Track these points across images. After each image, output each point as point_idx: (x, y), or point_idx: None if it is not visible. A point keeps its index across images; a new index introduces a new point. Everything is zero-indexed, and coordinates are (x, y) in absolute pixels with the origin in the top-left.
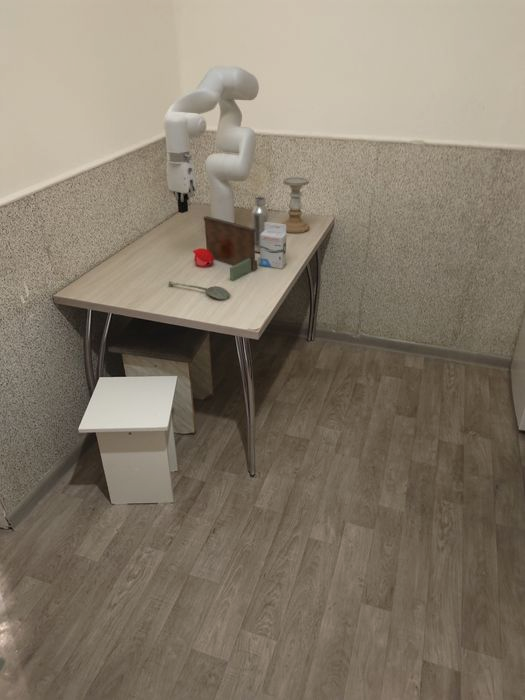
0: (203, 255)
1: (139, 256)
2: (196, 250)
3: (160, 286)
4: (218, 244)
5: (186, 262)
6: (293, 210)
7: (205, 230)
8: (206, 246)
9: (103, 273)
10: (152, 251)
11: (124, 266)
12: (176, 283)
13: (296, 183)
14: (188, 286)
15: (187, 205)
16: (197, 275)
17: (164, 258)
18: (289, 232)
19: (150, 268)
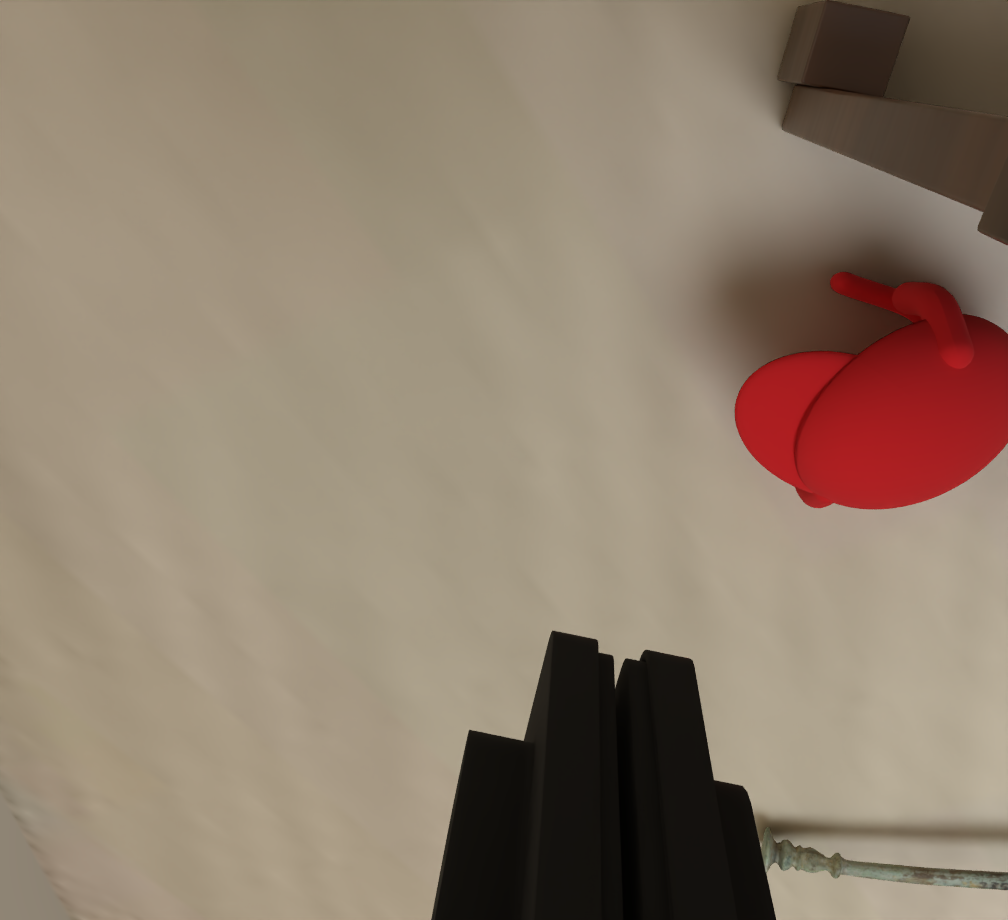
0: (940, 492)
1: (74, 457)
2: (825, 479)
3: None
4: None
5: (621, 386)
6: None
7: (909, 181)
8: (820, 145)
9: (136, 824)
10: (68, 282)
11: (157, 682)
12: (840, 874)
13: None
14: (967, 885)
15: (710, 790)
16: (897, 605)
17: (332, 394)
18: None
19: (384, 637)
